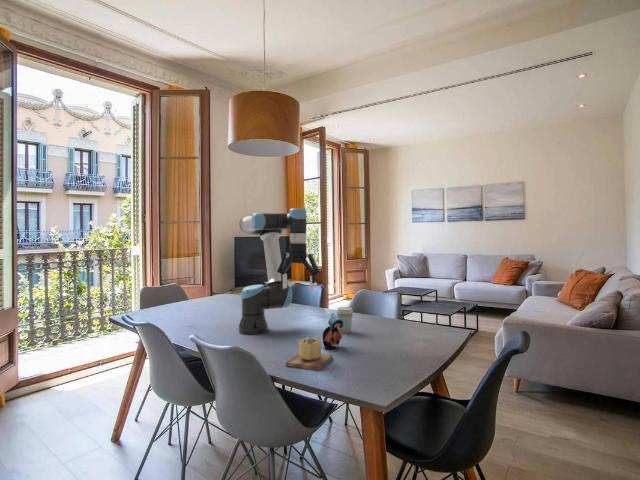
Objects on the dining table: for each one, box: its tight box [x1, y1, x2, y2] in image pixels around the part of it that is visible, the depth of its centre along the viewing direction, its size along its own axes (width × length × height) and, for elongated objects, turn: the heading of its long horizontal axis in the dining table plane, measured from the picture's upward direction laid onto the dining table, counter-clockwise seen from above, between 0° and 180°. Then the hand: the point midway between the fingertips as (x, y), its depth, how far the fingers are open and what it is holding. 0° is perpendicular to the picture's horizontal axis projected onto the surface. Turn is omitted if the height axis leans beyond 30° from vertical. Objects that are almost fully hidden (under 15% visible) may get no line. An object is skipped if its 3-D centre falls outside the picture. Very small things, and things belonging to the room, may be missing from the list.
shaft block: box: [285, 336, 333, 372], centre depth 146 cm, size 14×14×10 cm
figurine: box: [321, 313, 343, 351], centre depth 164 cm, size 10×7×15 cm
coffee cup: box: [336, 306, 354, 334], centre depth 190 cm, size 8×8×12 cm
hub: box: [298, 337, 322, 360], centre depth 146 cm, size 8×8×6 cm
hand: (298, 289), depth 170 cm, fingers open, 13 cm apart
